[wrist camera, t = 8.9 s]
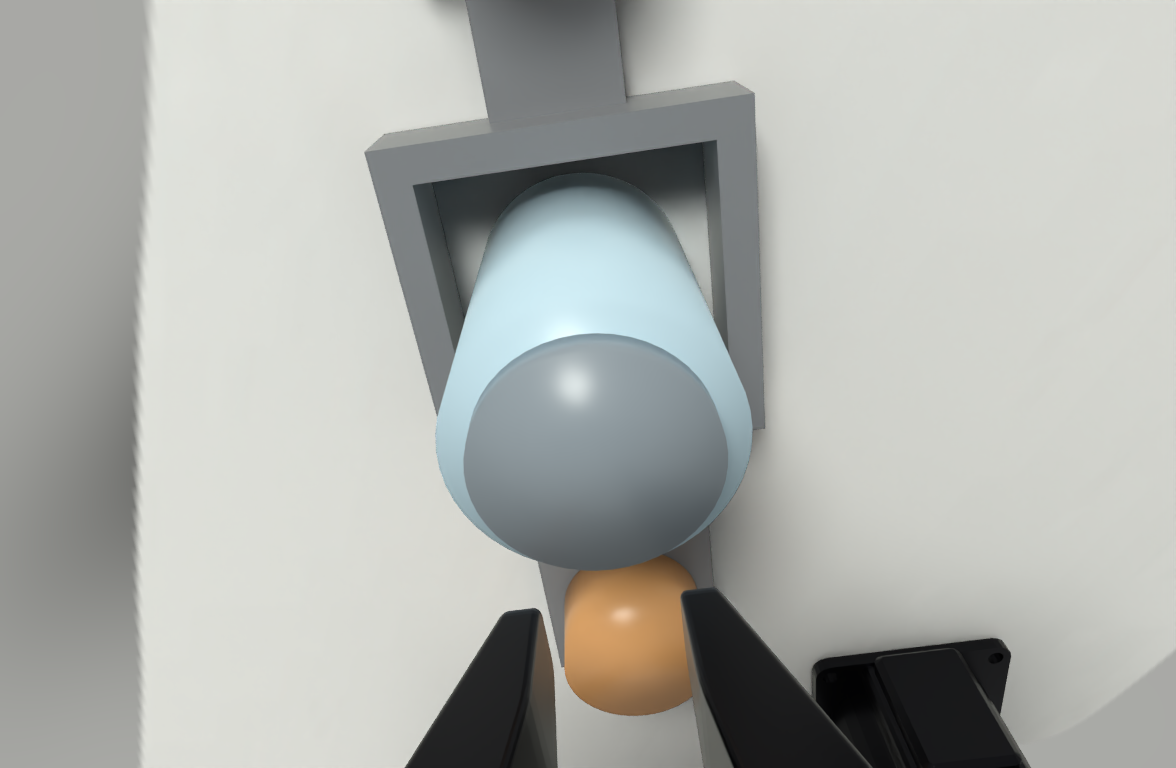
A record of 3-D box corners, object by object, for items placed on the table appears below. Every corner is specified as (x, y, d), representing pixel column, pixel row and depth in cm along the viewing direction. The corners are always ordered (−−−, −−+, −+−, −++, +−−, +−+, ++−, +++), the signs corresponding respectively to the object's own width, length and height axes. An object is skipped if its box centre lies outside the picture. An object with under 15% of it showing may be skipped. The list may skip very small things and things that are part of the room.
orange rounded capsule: (696, 612, 24) (715, 706, 21) (574, 627, 25) (576, 723, 21) (686, 515, 23) (707, 603, 19) (554, 532, 23) (553, 622, 20)
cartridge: (689, 348, 20) (765, 573, 12) (503, 373, 20) (469, 610, 13) (673, 158, 18) (755, 294, 10) (463, 189, 18) (390, 345, 10)
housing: (757, 614, 25) (772, 662, 23) (517, 643, 25) (513, 694, 23) (711, -449, 13) (735, -516, 11) (255, -366, 13) (207, -420, 11)
